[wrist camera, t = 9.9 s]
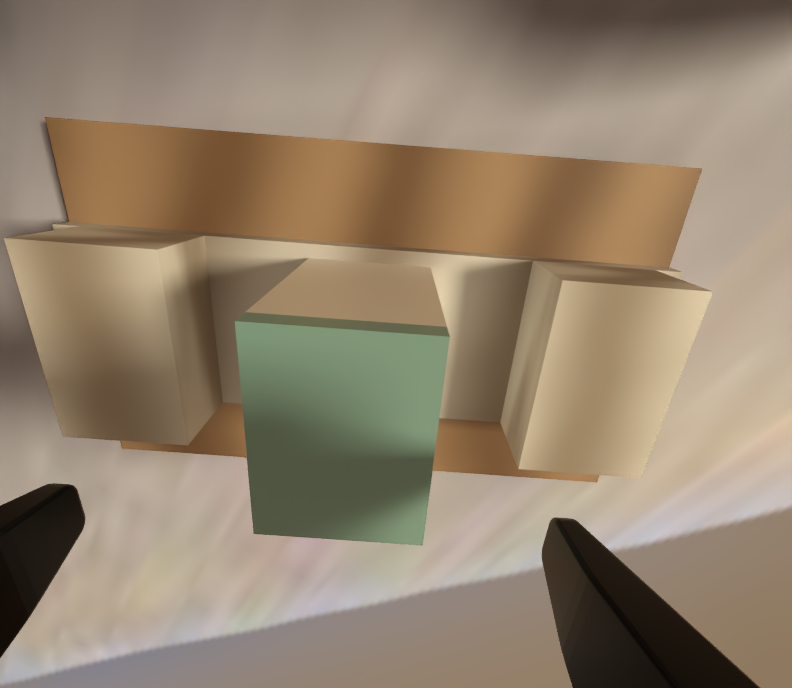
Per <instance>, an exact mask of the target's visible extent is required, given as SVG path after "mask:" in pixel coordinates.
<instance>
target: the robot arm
mask: <svg viewBox="0 0 792 688" xmlns="http://www.w3.org/2000/svg"><path fill="white" fill-rule="evenodd" d="M84 524H85V514H84V511H83V507H82V504H81V501H80V497H79V494H78V491H77V489H76V488H75V487H74V486H73V485H69V484H54V483H53V484H47V485H44V486H42V487H40V488H38V489H36V490H33V491H31V492H29V493H27V494H25V495H23V496H20V497H18V498H16V499H14V500H12V501H10V502H7V503H5V504H3V505H1V506H0V658H1V656H2V655H3V654H4V652H5V651H6V649H7V648H8V647H9V645H10V644H11V643H12V641H13V640H14V638H15V637H16V636H17V634H18V633H19V631H20V630H21V629H22V627H23V626H24V624H25V623H26V621H27V620H28V618H29V617H30V615H31V614H32V612H33V611H34V609H35V608H36V606H37V604H38V603H39V601H40V600H41V598H42V596H43V595H44V593H45V591H46V590H47V588H48V587H49V585H50V583H51V582H52V580H53V578H54V577H55V575H56V573H57V572H58V570H59V568H60V567H61V565H62V563H63V562H64V560H65V558H66V557H67V555H68V554H69V552H70V550H71V549H72V547H73V545H74V544H75V542H76V540H77V539H78V537H79V535H80V534H81V532H82V530H83V527H84ZM542 562H543V567H544V571H545V576H546V581H547V585H548V590H549V595H550V599H551V604H552V609H553V614H554V618H555V623H556V627H557V632H558V637H559V641H560V645H561V650H562V653H563V657H564V660H565V664H566V667H567V670H568V674H569V677H570V680H571V683H572V686H573V688H760V687H759V686H758V685H757V684H756V683H755V682H754V681H752V680H751V679H750V678H749V677H748V676H747V675H746V674H745V673H744V672H743V671H741V670H740V669H739V668H738V667H737V666H736V665H734V663H733V662H732V661H730V660H729V659H728V658H727V657H726V656H725V655H724V654H723V653H722V652H721V651H719V650H718V649H717V648H716V647H715V646H714V645H713V644H712V643H711V642H710V641H708V640H707V639H706V638H705V637H704V636H703V635H702V634H701V633H700V632H698V631H697V630H696V629H695V628H694V627H693V626H692V625H691V624H690V623H689V622H688V621H686V620H685V619H684V618H683V617H682V616H681V615H680V614H679V613H678V612H677V611H675V610H674V609H673V608H672V607H671V606H670V605H669V604H668V603H667V602H666V601H664V600H663V599H662V598H661V597H660V596H659V595H658V594H657V593H656V592H655V591H653V590H652V589H651V588H650V587H649V586H648V585H647V584H646V583H645V582H644V581H642V580H641V579H640V578H639V577H638V576H637V575H636V574H635V573H634V572H632V571H631V570H630V569H629V568H628V567H627V566H626V565H625V564H624V563H623V562H621V561H620V560H619V559H618V558H617V557H616V556H615V555H614V554H613V553H612V552H611V551H609V550H608V549H607V548H606V547H605V546H604V545H603V544H602V543H601V542H600V541H598V540H597V539H596V538H595V537H594V536H593V535H592V534H591V533H590V532H589V531H587V530H586V529H585V528H584V527H583V526H582V525H581V524H580V523H579V522H577V521H576V520H574V519H569V518H553V519H552V520H551V521H550V523H549V527H548V530H547V533H546V537H545V540H544V544H543V548H542Z"/></svg>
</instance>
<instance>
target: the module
mask: <svg viewBox="0 0 792 688" xmlns="http://www.w3.org/2000/svg"><path fill="white" fill-rule="evenodd" d="M235 330H236V341H237V352H238V364H239V375H240V386H241V397H242V408H243V419H244V430H245V442H246V453H247V464H248V475H249V486H250V497H251V508H252V520H253V531H254V534H264V535H279V536H293V537H308V538H322V539H337V540H351V541H366V542H380V543H395V544H409V545H423V538H424V531H425V523H426V515H427V508H428V500H429V493H430V485H431V477H432V470H433V462H434V454H435V447H436V439H437V432H438V424H439V416H440V409H441V401H442V394H443V386H444V378H445V371H446V363H447V355H448V348H449V340H450V335H449V332H448V328H447V324H446V321H445V317H444V314H443V310H442V307H441V303H440V299H439V296H438V292H437V289H436V285H435V282H434V278H433V274H432V271H431V267H423V266H410V265H396V264H383V263H369V262H356V261H342V260H329V259H315V258H308V259H307V260H306V261H305V262H304V263H302V264H301V265H300V266H299V267H298V268H297V269H295V270H294V271H293V272H292V273H291V274H289V275H288V276H287V277H286V278H285V279H284V280H282V281H281V282H280V283H279V284H278V285H277V286H275V287H274V288H273V289H272V290H271V291H269V292H268V293H267V294H266V295H265V296H264V297H262V298H261V299H260V300H259V301H258V302H257V303H255V304H254V305H253V306H252V307H251V308H249V309H248V310H247V311H246V312H245V313H244V314H242V315H241V316H240V317H239V318H238V319H237V320H235Z"/></svg>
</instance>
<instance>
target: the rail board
mask: <svg viewBox="0 0 792 688" xmlns="http://www.w3.org/2000/svg"><path fill="white" fill-rule="evenodd" d="M45 120H46V124H47V128H48V133H49V137H50V141H51V146H52V150H53V154H54V158H55V163H56V167H57V171H58V176H59V180H60V184H61V188H62V193H63V197H64V201H65V206H66V210H67V214H68V219H69V222H65V223H57V224H52V225H53V229H54V230H53V231H46V232H40V233H33V234H27V235H20V236H14V237H7V238H4V241H5V244H6V247H7V251H8V254H9V257H10V261H11V264H12V268H13V271H14V274H15V278H16V281H17V284H18V288H19V291H20V294H21V298H22V301H23V304H24V308H25V311H26V314H27V318H28V321H29V325H30V328H31V331H32V335H33V338H34V341H35V345H36V348H37V351H38V355H39V358H40V361H41V365H42V368H43V372H44V375H45V378H46V382H47V385H48V388H49V392H50V395H51V398H52V402H53V405H54V408H55V412H56V415H57V418H58V422H59V425H60V429H61V432H62V435H63V436H64V437H77V438H91V439H105V440H119V441H120V442H121V446H122V448H125V449H139V450H153V451H167V452H181V453H195V454H209V455H223V456H237V457H247V453H246V442H245V430H244V419H243V408H242V397H241V386H240V375H239V364H238V352H237V341H236V330H235V320H237V319H238V318H239V317H240V316H241V315H242V314H244V313H245V312H246V311H247V310H248V309H249V308H251V307H252V306H253V305H254V304H255V303H257V302H258V301H259V300H260V299H261V298H262V297H264V296H265V295H266V294H267V293H268V292H269V291H271V290H272V289H273V288H274V287H275V286H277V285H278V284H279V283H280V282H281V281H282V280H284V279H285V278H286V277H287V276H288V275H289V274H291V273H292V272H293V271H294V270H295V269H297V268H298V267H299V266H300V265H301V264H302V263H304V262H305V261H306V260H307V259H308V258H315V259H329V260H342V261H356V262H369V263H383V264H396V265H410V266H423V267H431V271H432V274H433V278H434V282H435V285H436V289H437V292H438V296H439V299H440V303H441V307H442V310H443V314H444V317H445V321H446V324H447V328H448V332H449V335H450V340H449V348H448V355H447V363H446V371H445V378H444V386H443V394H442V401H441V409H440V416H439V424H438V432H437V439H436V447H435V454H434V462H433V471H447V472H461V473H475V474H489V475H502V476H516V477H530V478H544V479H558V480H572V481H586V482H597V481H598V478H599V475H608V476H622V477H636V478H641V477H642V474H643V471H644V469H645V466H646V464H647V461H648V458H649V456H650V453H651V451H652V448H653V445H654V443H655V440H656V438H657V435H658V433H659V430H660V427H661V425H662V422H663V420H664V417H665V414H666V412H667V409H668V407H669V404H670V402H671V399H672V396H673V394H674V391H675V389H676V386H677V383H678V381H679V378H680V376H681V373H682V370H683V368H684V365H685V363H686V360H687V358H688V355H689V352H690V350H691V347H692V345H693V342H694V339H695V337H696V334H697V332H698V329H699V327H700V324H701V321H702V319H703V316H704V314H705V311H706V308H707V306H708V303H709V301H710V298H711V295H712V293H713V292H712V291H710V290H707V289H704V288H702V287H699V286H696V285H694V284H691V283H688V282H686V281H683V280H680V277H681V274H682V272H680V271H678V270H675V269H672V268H669V266H670V263H671V260H672V257H673V254H674V251H675V248H676V245H677V242H678V239H679V236H680V233H681V230H682V227H683V224H684V221H685V218H686V215H687V212H688V209H689V206H690V203H691V200H692V197H693V194H694V191H695V188H696V185H697V182H698V179H699V176H700V173H701V170H702V169H701V168H688V167H675V166H662V165H650V164H637V163H624V162H611V161H598V160H586V159H573V158H560V157H547V156H534V155H522V154H509V153H496V152H483V151H470V150H458V149H445V148H432V147H419V146H407V145H394V144H381V143H368V142H355V141H343V140H330V139H317V138H304V137H291V136H279V135H266V134H253V133H240V132H228V131H215V130H202V129H189V128H176V127H164V126H151V125H138V124H125V123H112V122H100V121H87V120H74V119H61V118H49V117H45Z"/></svg>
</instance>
